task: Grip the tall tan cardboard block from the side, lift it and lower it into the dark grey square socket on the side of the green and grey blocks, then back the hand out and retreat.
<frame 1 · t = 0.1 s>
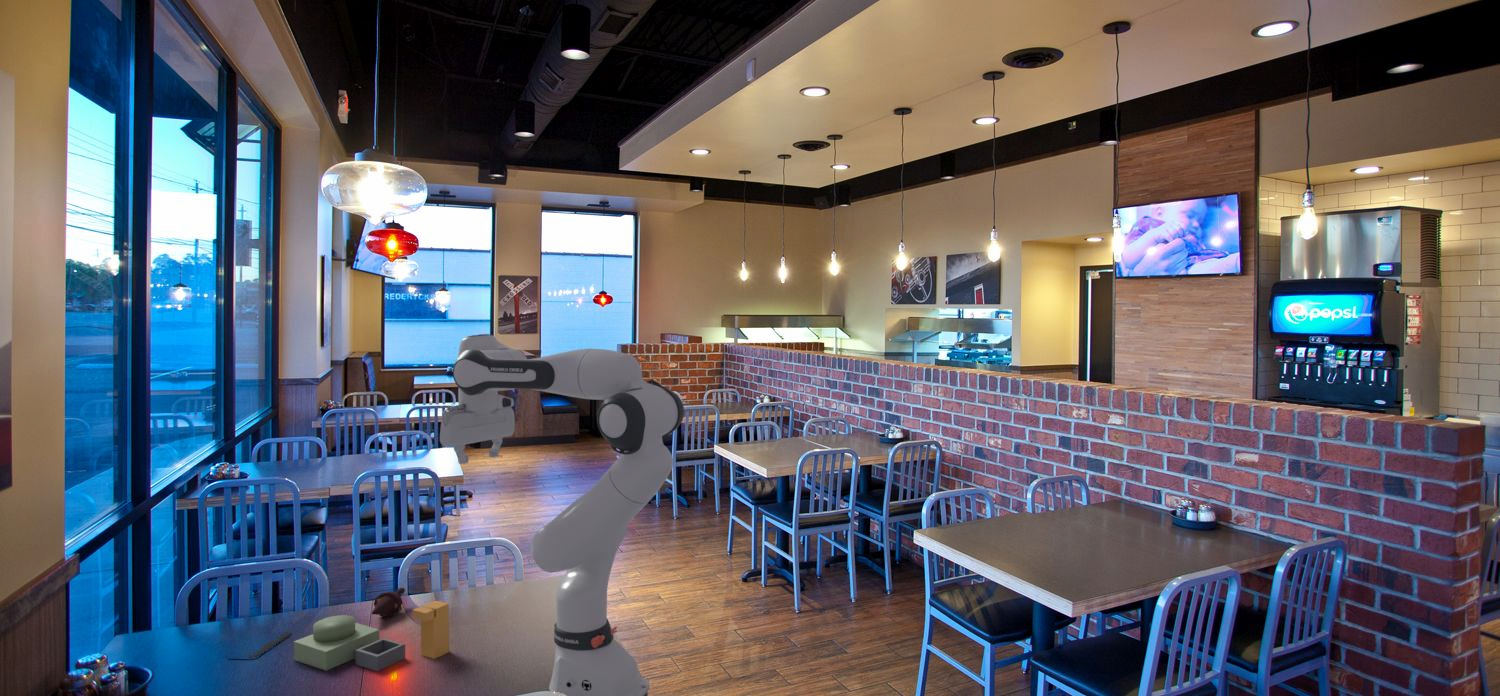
hand: (479, 460, 182), 48 cm above the table, tool pointing down, fingers open, 8 cm apart
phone: (260, 647, 190), on the table
dark brown rounded piece: (388, 617, 209), on the table
green and grey blocks: (380, 661, 182), on the table
tall tan cardboard block: (435, 653, 186), on the table
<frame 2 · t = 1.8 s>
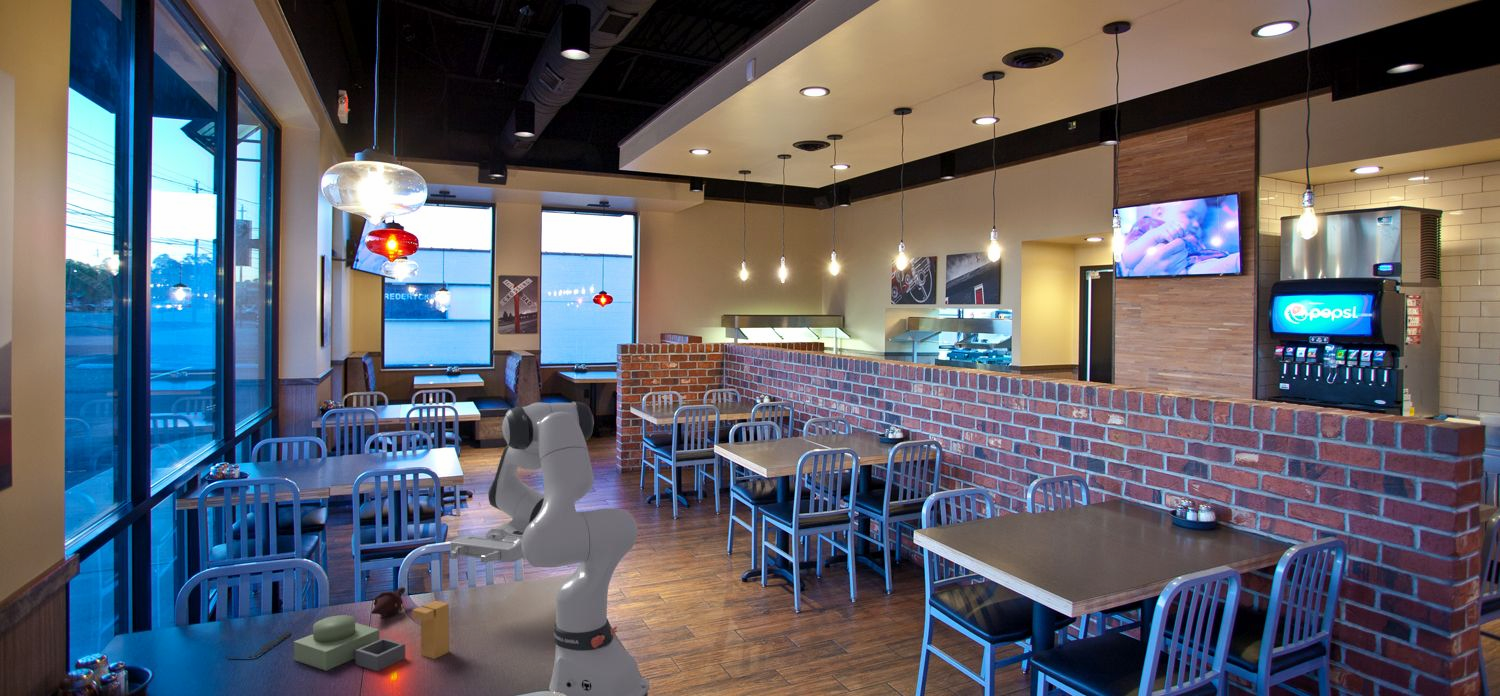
hand: (467, 557, 197), 20 cm above the table, tool horizontal, fingers open, 8 cm apart
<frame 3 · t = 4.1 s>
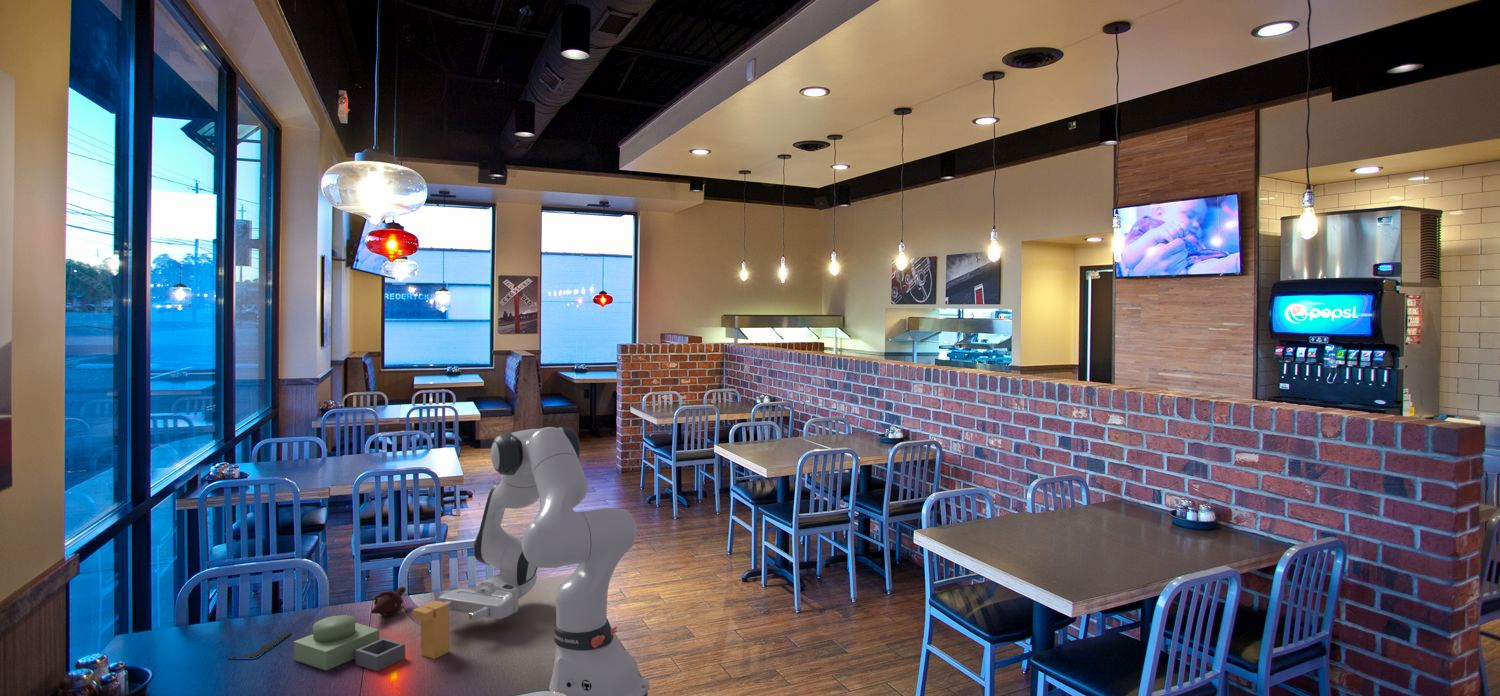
hand: (455, 614, 193), 7 cm above the table, tool horizontal, fingers open, 8 cm apart
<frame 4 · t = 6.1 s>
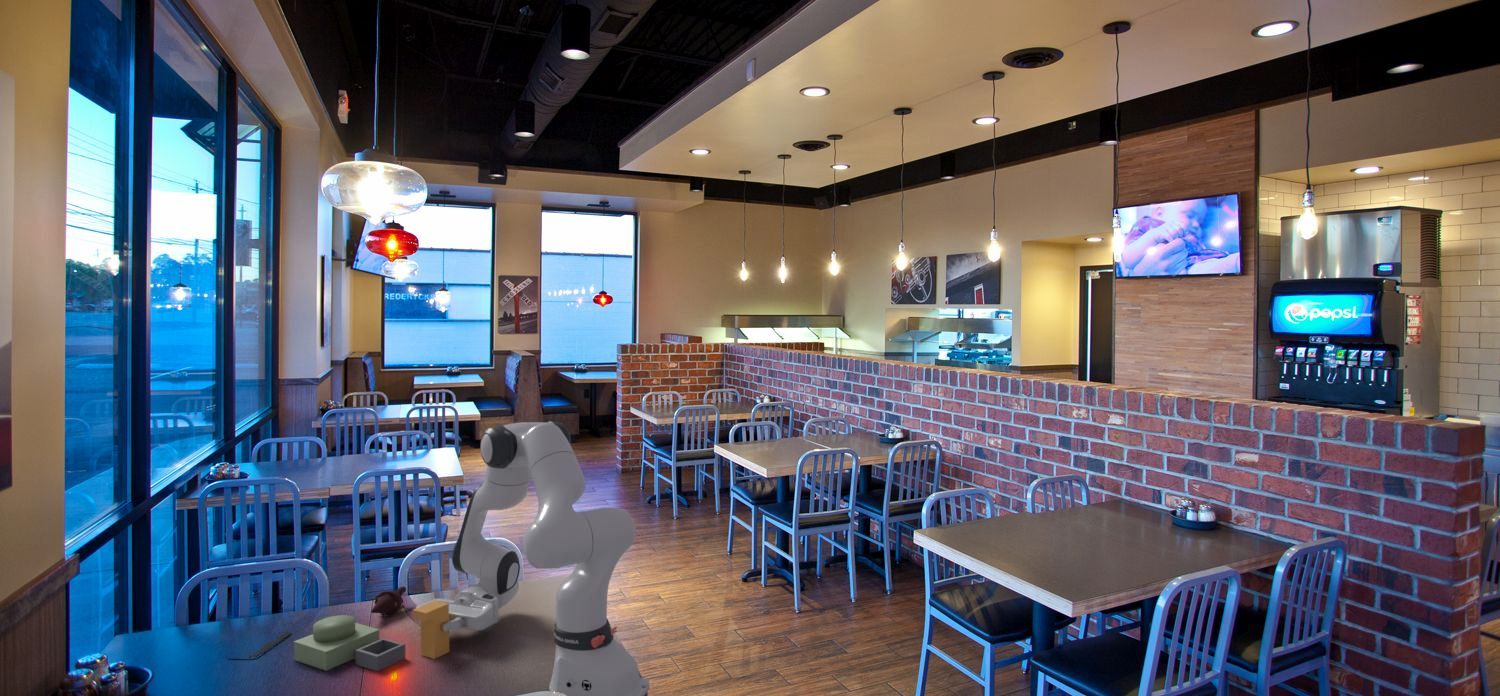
hand: (432, 626, 185), 7 cm above the table, tool horizontal, fingers closed on tall tan cardboard block, 5 cm apart
tall tan cardboard block: (435, 653, 186), on the table, touching gripper
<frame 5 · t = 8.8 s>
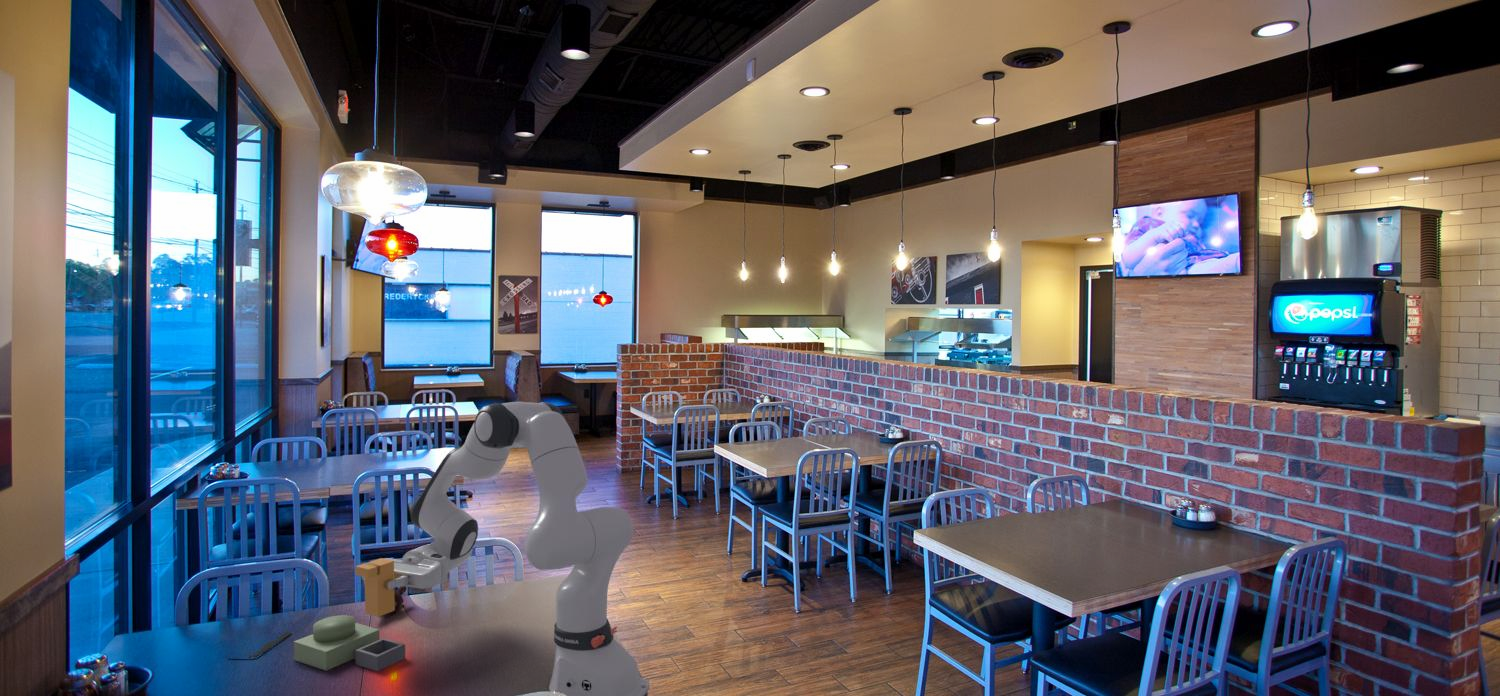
hand: (376, 584, 180), 19 cm above the table, tool horizontal, fingers closed on tall tan cardboard block, 5 cm apart
tall tan cardboard block: (380, 611, 181), point 12 cm above the table, touching gripper
when the fingers open (8 cm above the table, at t = 11.6 s): tall tan cardboard block drops 1 cm, resting in green and grey blocks.
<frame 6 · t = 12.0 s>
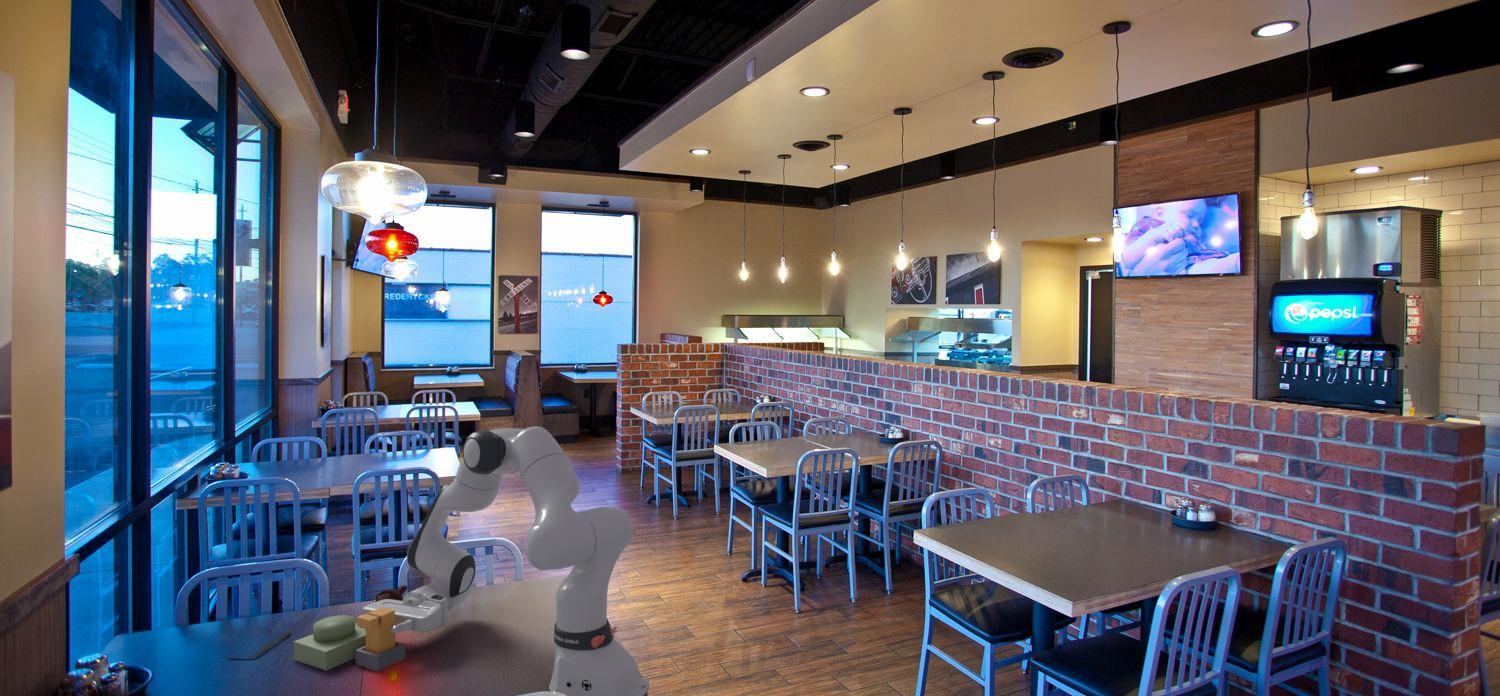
hand: (377, 627, 181), 8 cm above the table, tool horizontal, fingers open, 8 cm apart
tall tan cardboard block: (381, 661, 182), resting in green and grey blocks
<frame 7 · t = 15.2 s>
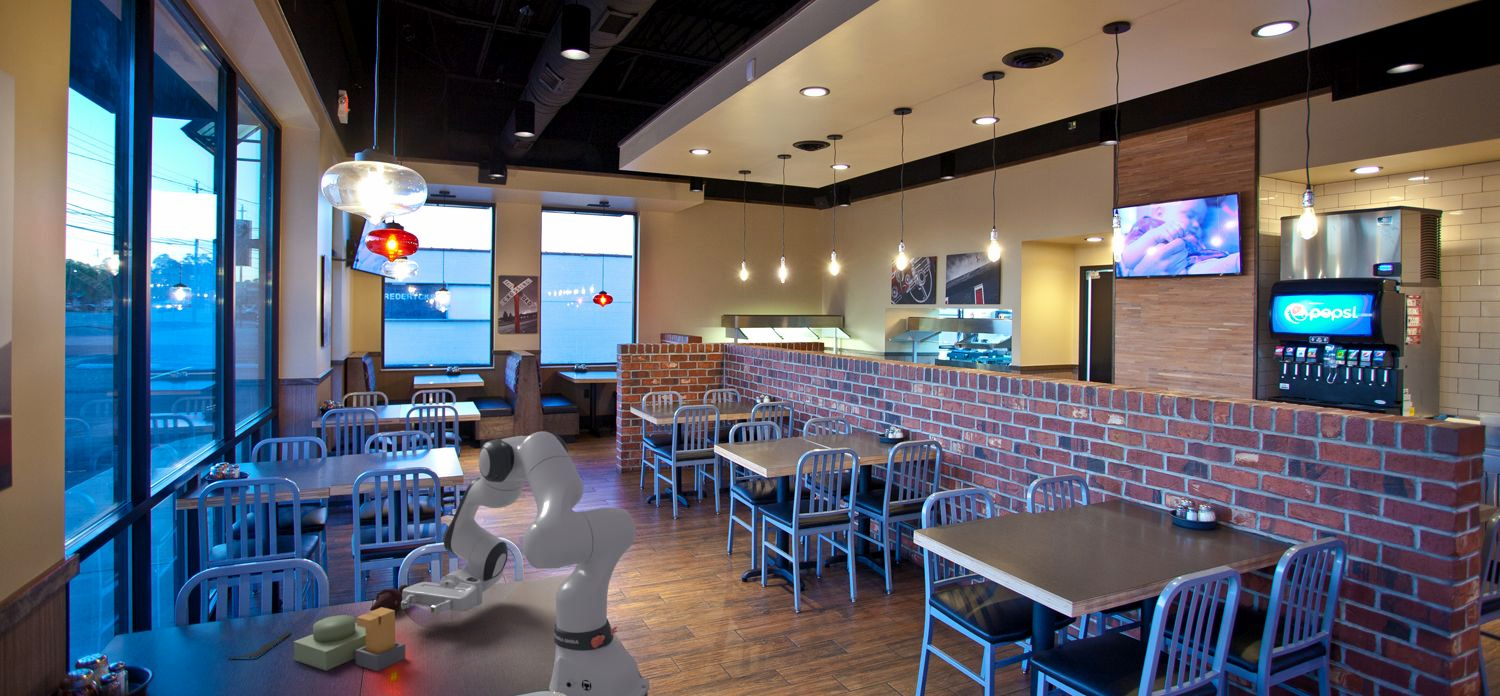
hand: (418, 607, 193), 9 cm above the table, tool horizontal, fingers open, 8 cm apart
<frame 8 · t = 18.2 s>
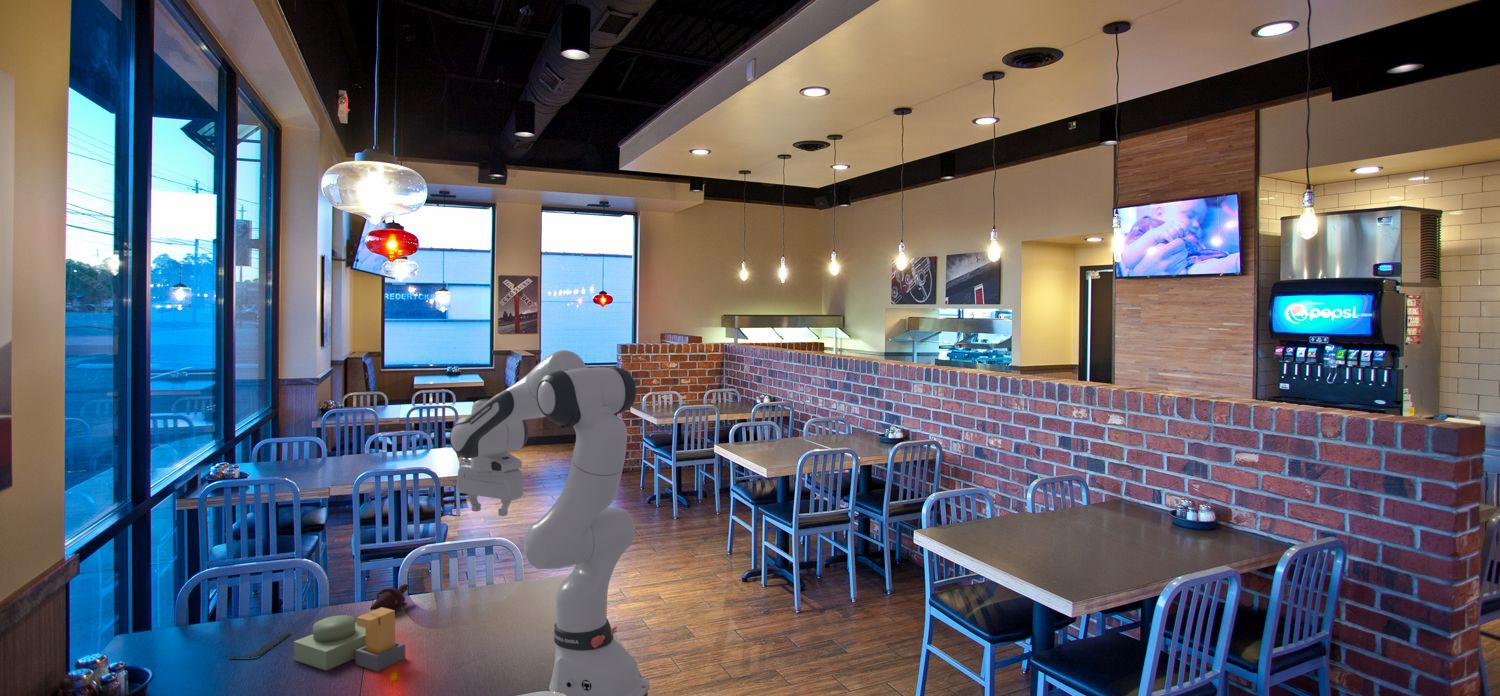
hand: (489, 513, 198), 31 cm above the table, tool pointing down, fingers open, 8 cm apart
at the end: tall tan cardboard block 0.1 cm off-centre on the green and grey blocks, point 0.0 cm above the green and grey blocks's base; tall tan cardboard block tilted 0°; the gripper is holding nothing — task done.
